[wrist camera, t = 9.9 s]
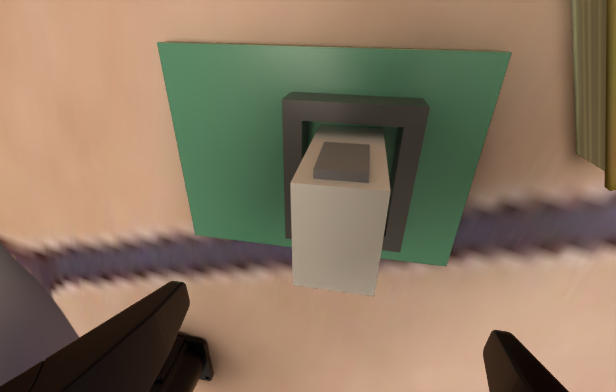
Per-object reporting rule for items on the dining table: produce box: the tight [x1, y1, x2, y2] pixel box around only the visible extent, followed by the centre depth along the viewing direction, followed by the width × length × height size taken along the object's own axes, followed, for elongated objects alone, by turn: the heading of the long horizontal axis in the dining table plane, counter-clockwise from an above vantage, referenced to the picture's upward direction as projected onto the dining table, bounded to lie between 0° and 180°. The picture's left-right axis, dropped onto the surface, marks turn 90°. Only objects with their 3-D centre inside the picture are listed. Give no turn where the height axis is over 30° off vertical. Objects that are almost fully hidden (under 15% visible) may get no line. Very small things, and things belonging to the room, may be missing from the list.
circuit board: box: [157, 42, 511, 266], centre depth 18 cm, size 13×18×3 cm
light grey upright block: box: [290, 125, 391, 296], centre depth 15 cm, size 5×4×8 cm, turn 179°
